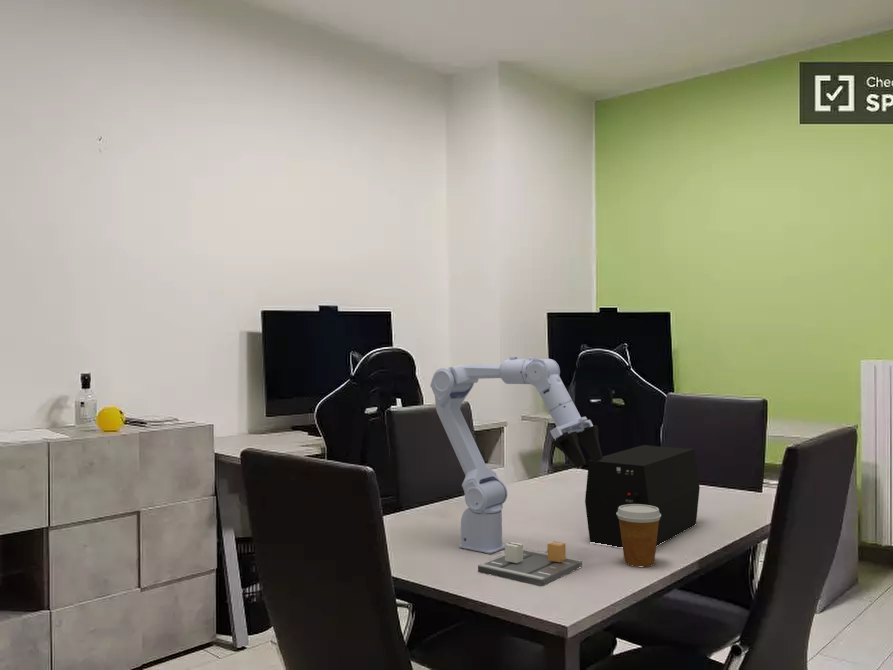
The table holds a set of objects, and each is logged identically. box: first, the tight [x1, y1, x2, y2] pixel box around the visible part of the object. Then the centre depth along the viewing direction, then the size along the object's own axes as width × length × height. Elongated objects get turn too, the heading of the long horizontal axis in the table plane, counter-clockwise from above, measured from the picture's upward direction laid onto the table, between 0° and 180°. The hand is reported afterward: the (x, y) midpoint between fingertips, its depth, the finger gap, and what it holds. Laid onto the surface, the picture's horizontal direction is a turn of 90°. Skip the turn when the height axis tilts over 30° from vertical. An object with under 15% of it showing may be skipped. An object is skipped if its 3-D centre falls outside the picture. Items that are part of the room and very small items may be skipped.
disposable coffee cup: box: [616, 504, 661, 567], centre depth 168 cm, size 10×10×12 cm
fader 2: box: [547, 541, 567, 562], centre depth 167 cm, size 3×2×4 cm
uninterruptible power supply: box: [584, 444, 700, 547], centre depth 193 cm, size 16×34×20 cm, turn 142°
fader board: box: [477, 548, 583, 587], centre depth 165 cm, size 16×16×2 cm
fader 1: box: [504, 541, 524, 563], centre depth 166 cm, size 3×2×4 cm
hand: (590, 463), depth 166 cm, fingers open, 7 cm apart
